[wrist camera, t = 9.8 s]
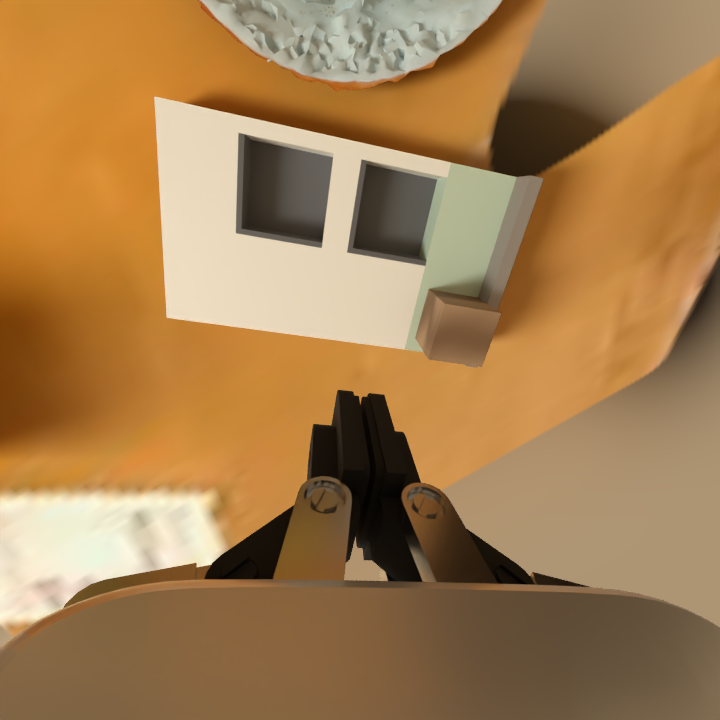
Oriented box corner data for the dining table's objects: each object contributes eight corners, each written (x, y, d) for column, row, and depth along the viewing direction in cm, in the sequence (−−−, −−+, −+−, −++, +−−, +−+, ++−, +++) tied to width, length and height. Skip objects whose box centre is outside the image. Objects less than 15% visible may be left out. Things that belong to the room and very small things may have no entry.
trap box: (173, 107, 25) (138, 87, 20) (509, 181, 29) (543, 178, 24) (180, 307, 31) (155, 325, 26) (457, 345, 35) (477, 367, 30)
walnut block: (428, 289, 29) (444, 303, 25) (477, 297, 30) (501, 313, 26) (415, 338, 31) (428, 359, 27) (462, 345, 32) (481, 366, 27)
